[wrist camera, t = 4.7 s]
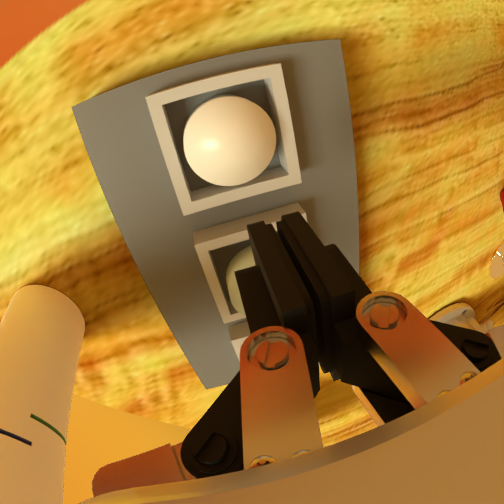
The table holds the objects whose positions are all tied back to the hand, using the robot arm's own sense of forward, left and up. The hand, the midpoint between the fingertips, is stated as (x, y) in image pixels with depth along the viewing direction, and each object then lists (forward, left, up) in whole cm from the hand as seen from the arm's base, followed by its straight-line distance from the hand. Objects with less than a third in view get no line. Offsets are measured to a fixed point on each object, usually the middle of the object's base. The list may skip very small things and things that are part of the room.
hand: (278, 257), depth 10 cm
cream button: (0, -2, -8) cm, 8 cm away
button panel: (0, +6, -11) cm, 12 cm away
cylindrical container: (+18, +8, -11) cm, 23 cm away
